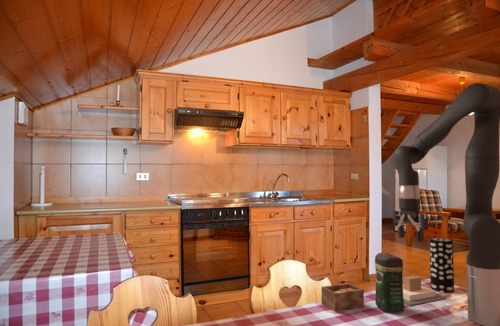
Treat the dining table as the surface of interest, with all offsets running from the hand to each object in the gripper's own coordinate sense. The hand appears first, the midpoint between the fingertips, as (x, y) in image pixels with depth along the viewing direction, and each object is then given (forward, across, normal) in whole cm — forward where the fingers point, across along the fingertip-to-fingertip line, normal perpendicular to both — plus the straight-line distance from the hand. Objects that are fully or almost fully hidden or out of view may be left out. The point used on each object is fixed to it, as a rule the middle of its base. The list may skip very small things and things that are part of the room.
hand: (410, 239), depth 130 cm
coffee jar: (+22, +6, -18) cm, 29 cm away
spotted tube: (+22, -1, +17) cm, 28 cm away
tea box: (+21, -2, -31) cm, 38 cm away
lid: (+21, 0, 0) cm, 21 cm away
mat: (+21, 0, 0) cm, 21 cm away
